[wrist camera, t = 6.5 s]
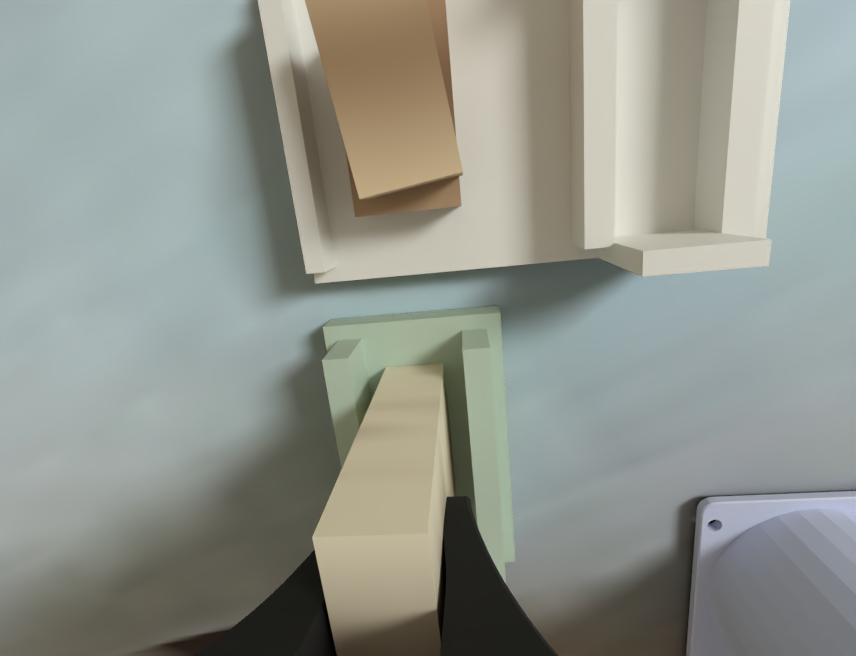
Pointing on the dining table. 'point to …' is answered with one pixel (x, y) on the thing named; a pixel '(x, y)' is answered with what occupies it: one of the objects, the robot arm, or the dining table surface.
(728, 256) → the rack
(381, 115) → the offcut upper
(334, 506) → the birch sheet
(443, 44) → the offcut lower
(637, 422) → the dining table surface
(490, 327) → the holder
